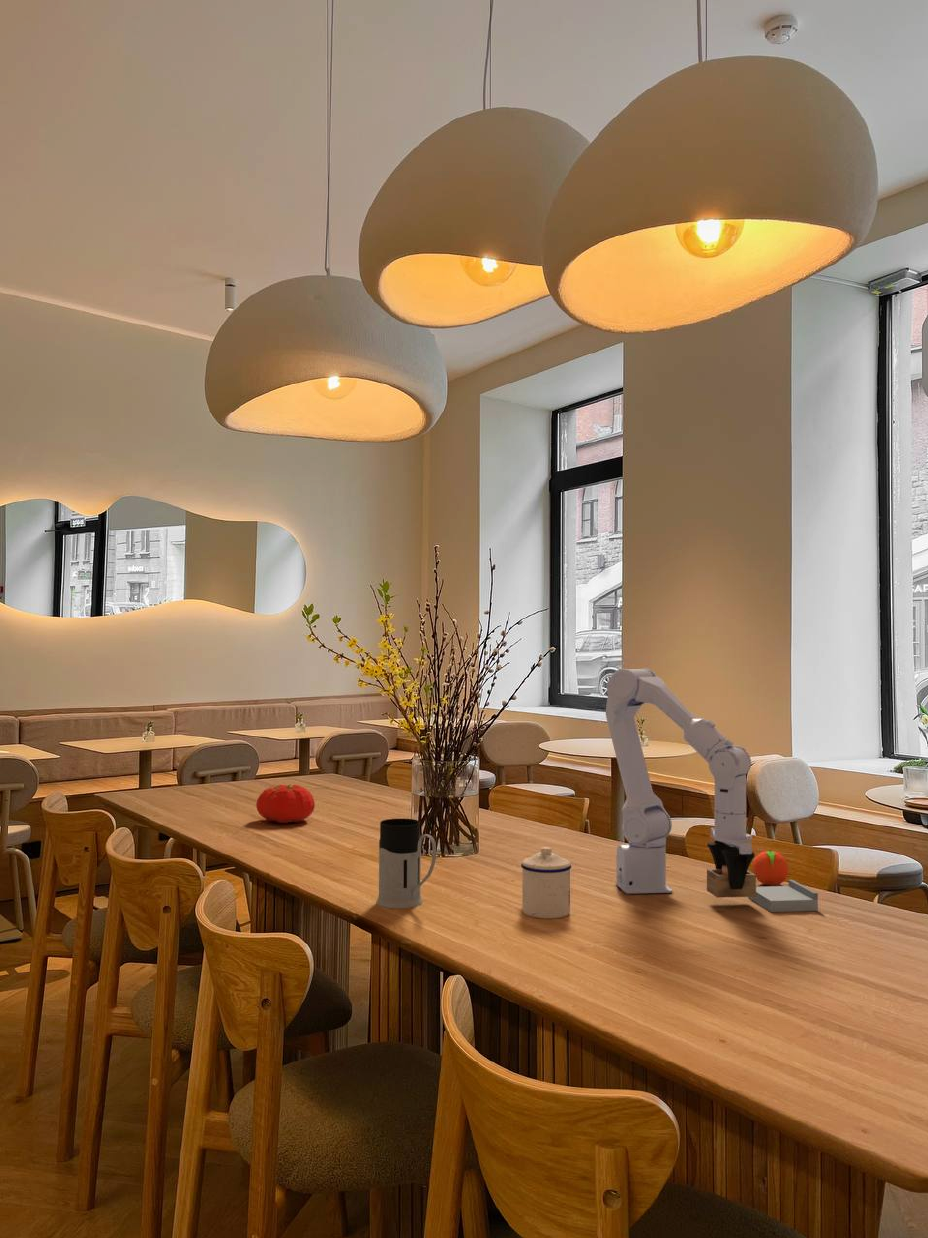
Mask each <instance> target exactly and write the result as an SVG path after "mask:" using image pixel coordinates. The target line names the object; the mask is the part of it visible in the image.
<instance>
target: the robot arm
mask: <svg viewBox="0 0 928 1238" xmlns="http://www.w3.org/2000/svg"><path fill="white" fill-rule="evenodd" d="M605 686H606V690H607V699H606V707H605V718H606V722H607V725H608V726H607V727H608V730H609V734H610V737H611V741H612V745H613V750H614V753H615V757H616V762H617V765H618V770H619V773H620V776H621V777H620V778H621V781H622V784H623V789H624V792H625V796H626V799H625V801H624V803H623V806H622V808H621V813H622V818H623V819H622V825H621V826H622V834H623V836H624V837H625V839H626V841H628V843H626V844H619V845H617V848H616V882H615V885H616V886H617V887H619V889H621V890H622V891H623V892H624V893H625V894H627V895H628V894H629V895H631V894H632V895H633V894H635V895H636V894H638V895H639V894H668V893H669V894H671V893H673V892H674V891H673V889H672V888H670V887H669V886H668V885H667V883H666V881H667V880H666V879H667V876H666V875H667V873H666V872H667V869H666V867H667V863H666V861H667V860H666V859H667V858H666V857H667V856H666V855H667V854H666V851H667V850H666V845H667V844H666V843H667V837H668V836H669V835H670V833H671V831H672V827H673V823H672V819H671V817H670V814H668V812H667V810H666V809H665V808H664V804H663V801H662V799H660V797H658V795H656V794H655V793H654V790H653V787H652V783H651V777H650V775H649V770H648V767H647V763H646V758H645V755H644V752H643V748H642V745H641V744H642V743H641V741H640V740H641V739H640V737H639V733H638V728H637V725H636V721H635V716H636V714H637V712H638V711H639V710H640V708H641V707H642V706H643V705H644V704H646V703H647V704H651V705H654V706H655V707H657V708H658V709H659V710H660V711H661V712H662V713H663V714H664V715H666V716H667V717H668V718H669V719H670V720H671V721H672V722H674V723H675V724H676V725H677V726H678V727H680V728H681V729H682V730H683V739H684V740H685V742H686V743H687V744H689V745H690V746H691V747H692V749H694V751H696V752H697V753H698V754H699V755H700V757H702V758H703V759H704V760H705V761H706V762H707V763H708V768H709V771H710V773H711V775H712V776H713V778H714V779H713V780H714V827H711V828H710V838H711V840H714V842H707V843H706V844H707V847H708V849H709V852H710V853H711V856H712V858H713V862H714V865H715V866H714V867H715V869H722V866H723V865H727V869H728V877H729V884H730V888H731V889H742V888H743V885H744V881H745V877H746V873H747V870H748V871H749V867H750V865H751V863H752V861H753V860H754V859H755V852H754V851H753V850H752V849H753V848H752V845H753V844H752V843H751V842H750V841H753V836H752V834H748V833H747V774H748V773H749V772H750V770H751V767H752V761H751V760H752V759H751V756H750V754H749V753H748V752H747V751H746V749H745V747H742V746H739V745H733V744H734V741H733V740H731V739H730V738H729V739H728V738H726V736H724V735H723V734H722V733H721V732H720V731H719V730H718V729H717V728H716V727H715V726H716V725H717V724H716V723H715V722H714V721H713V720H708V719H707V718H703V717H702V718H697V717H696V716H695V715H694V714H693V713H692V711H690V710H689V709H688V708H687V706H685V705H684V703H682V701H681V700H680V699H679V698H678V697H677V696H676V695H675V694H674V693H673V691H671V690H670V688H669V687H668V686H667V685H666V683H665V682H664V680H663V679H662V678H661V677H660V676H657V675H656V673H655V672H654V671H653V670H651V669H649V668H646V667H645V668H638V669H637V668H633V669H632V668H631V669H626V668H619V669H617V670H615V671H614V672H613V673H612V674H611V676H610V677H609V679H608V680H607V682H606V684H605Z"/></svg>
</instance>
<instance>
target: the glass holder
mask: <svg viewBox="0 0 928 1238" xmlns="http://www.w3.org/2000/svg"><path fill="white" fill-rule="evenodd" d="M420 824H421V823H420V821H419V820H418V819H414V818H389V819H384V820H380V822H379V836H380V837H379V841H378V897H377V899H376V901H375V902H376V905H377V904H378V905H377V906H379V907H383V908H386V909H400V910H401V909H411V908H416V907H418V906H420V905H422V904H423V898H422V896H421V886H423V884H424V883H425V882H427V880H428V879H429V878H430V877H431V876H432V873H433V870H434V867H435V864H436V859H437V844H436V840H435V839H434V837H433V836H432V835H430V834H427V833H425V834H422V835H421V830H420V829H421V825H420ZM420 835H421V836H420ZM424 838H429V840H430V841H431V845H432V846H431V847H432V857H431V863H430V866H429V869H428V872H427V874H426V875H425V876H424V878H423V879H422V880H421V864H422V863H421V859H422V858H421V853H422V843H423V840H424Z"/></svg>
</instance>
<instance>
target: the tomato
mask: <svg viewBox="0 0 928 1238" xmlns="http://www.w3.org/2000/svg"><path fill="white" fill-rule="evenodd" d="M255 805H256V811H257V812H258V814H259V815H260V816H261V817H263V818H264V819H265V820H267V821H269V822H271V821H276V823H278V822H279V823H278V824H281V823H284V824H289V823H292V822H297V823H300V822H301V821H304V820H306V819H307V818H309V817H310V816H311V815H312V813H313V812H314V810H315V806H316V804H315V799H314V797H313V794H311V792H310V791H309V790H308V789H306V788H305V787H303V786H300V785H297V784H293V785H291V784H288V785H287V784H279V785H276V786H273V787H269V788H266V789H264V790H263V791H262V792H261V793H260V794H259V795H258V798H257V799H256V804H255ZM299 821H300V822H299ZM288 822H289V823H288Z"/></svg>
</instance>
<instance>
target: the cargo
mask: <svg viewBox="0 0 928 1238" xmlns="http://www.w3.org/2000/svg"><path fill="white" fill-rule="evenodd" d="M722 875H728V869H727V865H723V866H722Z"/></svg>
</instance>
